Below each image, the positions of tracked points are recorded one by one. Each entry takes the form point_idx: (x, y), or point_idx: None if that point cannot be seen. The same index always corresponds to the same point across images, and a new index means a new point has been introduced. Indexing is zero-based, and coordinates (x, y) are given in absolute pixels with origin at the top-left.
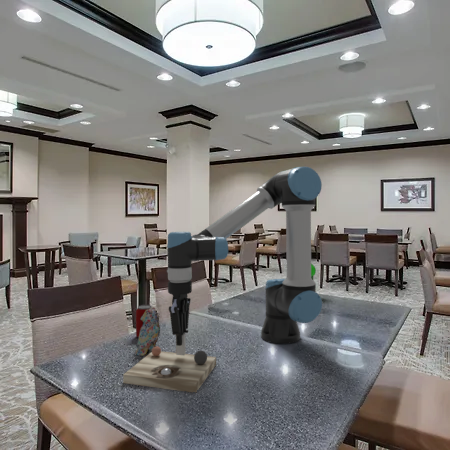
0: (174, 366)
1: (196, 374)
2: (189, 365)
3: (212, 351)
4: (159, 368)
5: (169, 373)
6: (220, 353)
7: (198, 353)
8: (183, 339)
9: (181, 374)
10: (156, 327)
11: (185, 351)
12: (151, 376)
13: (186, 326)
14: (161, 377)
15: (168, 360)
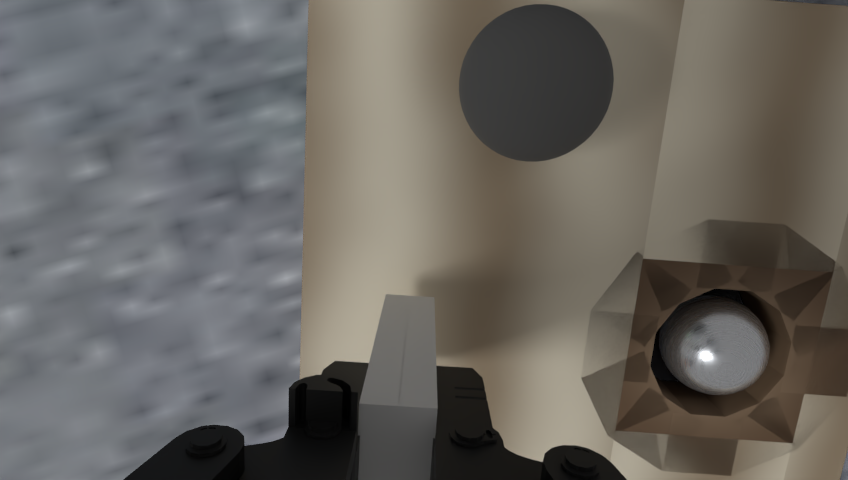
0: (611, 318)
1: (763, 65)
2: (571, 190)
3: (21, 103)
4: (667, 426)
5: (749, 315)
6: (44, 8)
7: (590, 97)
8: (435, 376)
9: (772, 205)
10: None
11: (387, 302)
12: (826, 433)
13: (232, 467)
14: (841, 351)
15: (489, 409)
